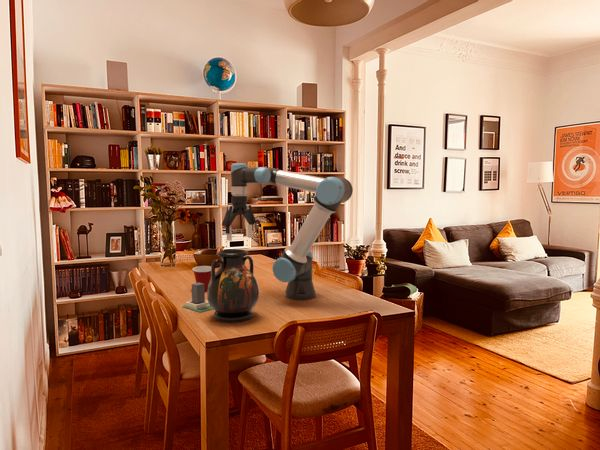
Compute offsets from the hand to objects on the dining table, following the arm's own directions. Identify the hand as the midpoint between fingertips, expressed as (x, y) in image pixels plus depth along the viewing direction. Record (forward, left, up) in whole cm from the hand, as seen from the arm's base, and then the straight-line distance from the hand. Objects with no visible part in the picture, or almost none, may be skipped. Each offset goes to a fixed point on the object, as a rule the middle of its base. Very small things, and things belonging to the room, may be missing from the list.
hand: (239, 239), depth 218 cm
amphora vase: (-23, +25, -29) cm, 45 cm away
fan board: (0, +25, -29) cm, 38 cm away
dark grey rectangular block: (+1, +25, -28) cm, 37 cm away
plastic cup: (+24, +4, -29) cm, 38 cm away
